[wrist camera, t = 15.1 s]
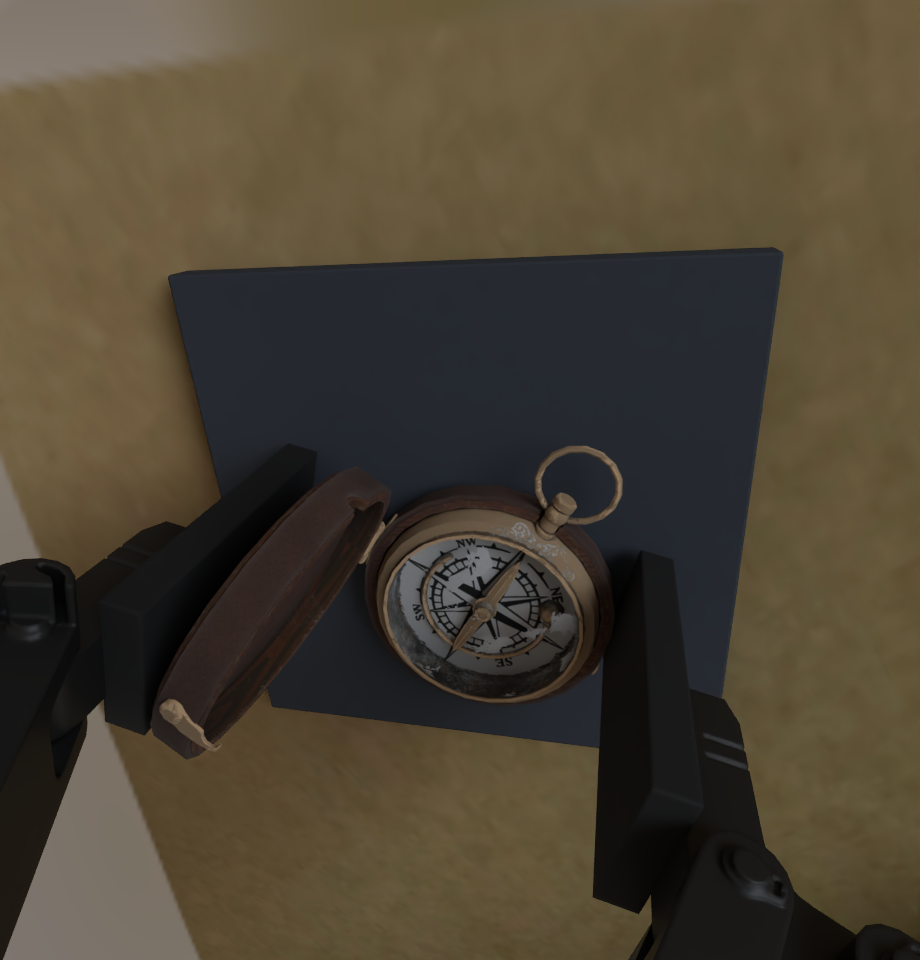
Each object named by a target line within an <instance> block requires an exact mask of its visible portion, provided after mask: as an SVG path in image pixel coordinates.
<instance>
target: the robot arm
mask: <svg viewBox="0 0 920 960" xmlns="http://www.w3.org/2000/svg"><path fill="white" fill-rule="evenodd" d="M316 460H317V452H316V451H313V450H310V449H306V448H303V447H300V446H296V445H293V444H290V443H288V444H287V445H286V446H285V447H283V448H282V449H281V450H280V451H279V452H277V453H276V454H275V455H274V456H272V457H271V458H270V459H269V460H268V461H266V462H265V463H264V464H263V465H262V466H260V467H259V468H258V469H257V470H255V471H254V472H253V473H252V474H251V475H249V476H248V477H247V478H246V479H245V480H243V481H242V482H241V483H240V484H238V485H237V486H236V487H235V488H234V489H232V490H231V491H230V492H229V493H227V494H226V495H225V496H224V497H223V498H221V499H220V500H219V501H218V502H217V503H215V504H214V505H213V506H212V507H210V508H209V509H208V510H207V511H206V512H204V513H203V514H202V515H201V516H200V517H198V518H197V519H196V520H195V521H193V522H192V523H191V524H190V525H189V526H187V527H186V528H185V527H182V526H179V525H176V524H173V523H170V522H167V521H166V522H164V523H161V524H158V525H155V526H153V527H150V528H147V529H145V530H142V531H140V532H139V533H138V534H136V535H135V536H134V537H132V538H131V539H130V540H128V541H127V542H126V543H124V544H123V547H122V548H120V547H119V548H118V549H116V550H115V551H114V552H112V553H111V554H110V555H108V558H107V559H103V560H102V561H101V562H99V563H98V564H97V565H95V566H94V567H93V568H91V569H90V570H89V571H87V572H86V573H85V574H83V575H82V576H81V577H79V578H78V579H77V580H75V575H74V574H73V572H72V571H71V569H70V567H68V566H66V565H64V564H62V563H60V562H58V561H54V560H48V559H43V558H38V559H22V560H18V561H14V562H10V563H5V564H3V565H1V566H0V960H3V957H4V955H5V952H6V950H7V947H8V944H9V941H10V939H11V936H12V933H13V931H14V928H15V925H16V923H17V920H18V917H19V915H20V912H21V909H22V906H23V904H24V901H25V898H26V896H27V893H28V890H29V887H30V885H31V882H32V880H33V877H34V874H35V872H36V869H37V866H38V863H39V861H40V858H41V855H42V853H43V850H44V847H45V845H46V842H47V839H48V837H49V834H50V831H51V828H52V826H53V823H54V820H55V817H56V815H57V812H58V810H59V807H60V804H61V801H62V799H63V796H64V793H65V791H66V788H67V785H68V783H69V780H70V777H71V775H72V772H73V769H74V766H75V764H76V761H77V758H78V756H79V753H80V750H81V748H82V745H83V742H84V740H85V737H86V731H87V715H88V714H89V713H90V712H91V711H92V710H93V709H94V708H95V707H96V706H97V705H98V704H99V703H100V702H101V701H102V700H103V699H104V709H105V721H106V722H108V723H111V724H114V725H117V726H119V727H122V728H125V729H128V730H131V731H133V732H136V733H139V734H142V735H144V736H145V734H146V733H147V732H148V731H149V730H150V728H151V725H150V722H151V719H152V708H153V705H154V702H155V698H156V695H157V692H158V688H159V685H160V683H161V681H162V679H163V677H164V675H165V674H166V672H167V670H168V668H169V666H170V664H171V662H172V660H173V658H174V656H175V654H176V652H177V651H178V649H179V647H180V646H181V644H182V643H183V641H184V640H185V638H186V636H187V635H188V633H189V632H190V630H191V629H192V627H193V626H194V624H195V623H196V621H197V620H198V618H199V617H200V615H201V614H202V612H203V611H204V609H205V608H206V606H207V605H208V603H209V602H210V601H211V599H212V598H213V597H214V596H215V594H216V593H217V592H218V590H219V589H220V588H221V586H222V585H223V584H224V583H225V581H226V580H227V579H228V577H229V576H230V575H231V573H232V572H233V571H234V570H235V568H236V567H237V566H238V564H239V563H240V562H241V560H242V559H243V558H244V557H245V556H246V555H247V554H248V553H249V551H250V550H251V549H252V548H253V547H254V546H255V545H256V544H257V543H258V541H259V540H260V539H261V538H262V537H263V536H264V535H265V534H266V532H267V531H268V530H269V529H270V528H271V527H272V526H273V525H274V523H275V522H276V521H277V520H278V519H279V518H280V517H281V516H283V515H284V514H285V513H286V512H287V511H288V510H289V509H290V508H291V507H292V506H293V505H294V504H295V503H296V502H297V501H298V500H299V499H300V498H302V497H303V496H304V495H305V494H306V493H307V492H308V491H310V490H311V489H312V488H313V485H314V477H315V469H316ZM747 769H748V763H747V758H746V753H745V751H744V743H743V738H742V733H741V729H740V724H739V722H738V720H737V719H736V717H735V716H734V714H733V713H732V711H731V709H730V708H729V706H728V705H727V703H726V701H725V700H724V699H721V698H718V697H715V696H712V695H709V694H705V693H702V692H699V691H696V690H693V689H690V688H689V681H688V673H687V665H686V656H685V648H684V640H683V632H682V624H681V616H680V608H679V600H678V592H677V584H676V576H675V568H674V560H673V559H670V558H666V557H663V556H660V555H657V554H653V553H650V552H647V551H643V550H641V551H640V553H639V556H638V558H637V561H636V563H635V565H634V568H633V570H632V573H631V575H630V577H629V580H628V582H627V585H626V587H625V589H624V592H623V594H622V597H621V599H620V601H619V604H618V606H617V609H616V611H615V622H614V626H613V630H612V635H611V638H610V641H609V643H608V645H607V648H606V650H605V653H604V655H603V675H602V698H601V721H600V743H599V766H598V789H597V812H596V835H595V857H594V880H593V898H596V899H599V900H602V901H604V902H607V903H610V904H613V905H615V906H618V907H621V908H624V909H626V910H629V911H632V912H635V913H637V914H639V913H640V911H641V910H642V908H643V907H644V905H645V903H646V902H647V900H648V898H649V897H650V895H651V908H652V923H651V925H650V926H649V928H648V930H647V931H646V933H645V934H644V936H643V937H642V939H641V941H640V942H639V944H638V945H637V947H636V948H635V950H634V952H633V953H632V955H631V956H630V958H629V959H628V960H920V943H919V942H917V941H916V940H914V939H913V938H911V937H909V936H908V935H906V934H905V933H903V932H902V931H900V930H898V929H895V928H892V927H889V926H886V925H883V924H873V925H865V927H864V928H863V929H862V930H861V931H860V932H859V933H858V934H857V935H855V934H854V933H852V932H851V931H849V930H848V929H846V928H845V927H843V926H841V925H840V924H838V923H837V922H835V921H834V920H832V919H831V918H829V917H828V916H826V915H825V914H823V913H822V912H820V911H818V910H817V909H815V908H814V907H813V906H811V905H810V904H809V903H807V902H806V901H805V900H803V899H802V898H801V897H799V896H798V895H797V894H796V893H795V892H794V890H793V887H792V884H791V882H790V879H789V877H788V874H787V872H786V871H785V869H784V868H783V866H782V865H781V864H780V862H779V861H778V860H777V858H776V857H775V856H774V854H772V853H771V852H770V851H769V850H768V849H767V848H766V847H765V844H764V840H763V835H762V830H761V826H760V821H759V816H758V811H757V806H756V801H755V796H754V792H753V787H752V782H751V777H750V772H749V771H748V770H747Z"/></svg>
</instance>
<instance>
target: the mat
mask: <svg viewBox="0 0 920 960" xmlns="http://www.w3.org/2000/svg"><path fill="white" fill-rule="evenodd" d="M782 262H783V252H781V251H779V250H777V249H775V248H773V247H770V248H745V249H721V250H696V251H671V252H646V253H621V254H596V255H571V256H546V257H521V258H496V259H471V260H446V261H422V262H397V263H372V264H347V265H322V266H297V267H272V268H247V269H222V270H197V271H185V272H181V273H177V274H173V275H170V276H168V280H169V284H170V288H171V292H172V296H173V300H174V305H175V309H176V313H177V317H178V321H179V325H180V329H181V333H182V338H183V342H184V346H185V350H186V354H187V358H188V362H189V366H190V371H191V375H192V379H193V383H194V387H195V391H196V395H197V399H198V403H199V408H200V412H201V416H202V420H203V424H204V428H205V432H206V436H207V441H208V445H209V449H210V453H211V457H212V461H213V465H214V469H215V474H216V478H217V482H218V486H219V490H220V494H221V498H223V497H224V496H225V495H226V494H227V493H229V492H230V491H231V490H232V489H234V488H235V487H236V486H237V485H238V484H240V483H241V482H242V481H243V480H245V479H246V478H247V477H248V476H249V475H251V474H252V473H253V472H254V471H255V470H257V469H258V468H259V467H260V466H262V465H263V464H264V463H265V462H266V461H268V460H269V459H270V458H271V457H272V456H274V455H275V454H276V453H277V452H279V451H280V450H281V449H282V448H283V447H285V446H286V445H287V444H288V443H290V444H293V445H296V446H300V447H303V448H306V449H310V450H313V451H316V452H317V460H316V469H315V477H314V485H313V488H314V487H315V486H316V485H318V484H319V483H321V482H322V481H323V480H325V479H326V478H327V477H329V476H330V475H333V474H336V473H339V472H341V471H344V470H347V469H350V468H352V467H355V466H357V467H359V468H360V469H362V470H363V471H365V472H366V473H368V474H369V475H370V476H372V477H373V478H375V479H376V480H378V481H379V482H381V483H382V484H383V485H385V486H386V487H388V488H389V489H391V490H392V492H391V497H390V503H389V505H388V508H387V510H386V513H385V515H384V517H383V519H382V522H384V524H385V526H386V525H387V523H388V522H389V521H390V520H391V519H392V518H393V516H394V515H395V514H398V513H399V512H400V511H401V510H402V509H403V508H405V507H406V506H408V505H410V504H411V503H413V502H415V501H417V500H418V499H420V498H422V497H423V496H425V495H427V494H428V493H430V492H435V491H439V490H443V489H447V488H452V487H456V486H460V485H488V486H503V487H506V488H510V489H513V490H516V491H519V492H523V493H526V494H529V495H533V496H536V494H535V479H534V477H535V475H536V473H537V470H538V468H539V466H540V463H541V462H542V461H543V460H544V459H546V458H547V457H548V456H549V455H550V454H551V453H552V452H554V451H557V450H559V449H562V448H565V447H567V446H588V447H590V448H593V449H595V450H598V451H601V452H603V453H604V454H605V455H606V456H608V457H609V458H610V459H611V460H612V461H613V462H614V463H615V464H616V465H617V468H618V470H619V472H620V474H621V477H622V479H623V484H622V496H621V498H620V500H619V502H618V504H617V506H616V508H615V510H613V511H612V512H611V513H610V514H608V515H607V516H606V517H605V518H604V519H602V520H599V521H596V522H593V523H590V524H587V525H584V524H578V525H579V526H580V527H581V528H582V529H583V531H584V532H585V533H586V534H587V535H588V536H589V537H590V538H591V539H592V540H593V541H594V542H595V543H596V545H597V547H598V549H599V551H600V553H601V555H602V557H603V559H604V561H605V563H606V565H607V567H608V569H609V571H610V573H611V577H612V585H613V592H614V600H615V611H616V609H617V606H618V604H619V601H620V599H621V597H622V594H623V592H624V589H625V587H626V585H627V582H628V580H629V577H630V575H631V573H632V570H633V568H634V565H635V563H636V561H637V558H638V556H639V553H640V551H641V550H643V551H647V552H650V553H653V554H657V555H660V556H663V557H666V558H670V559H673V560H674V568H675V576H676V584H677V592H678V600H679V608H680V616H681V624H682V632H683V640H684V648H685V656H686V665H687V673H688V681H689V688H690V689H693V690H696V691H699V692H702V693H705V694H709V695H712V696H715V697H718V698H721V699H722V693H723V686H724V678H725V671H726V664H727V657H728V650H729V642H730V635H731V628H732V621H733V614H734V607H735V599H736V592H737V585H738V578H739V571H740V564H741V556H742V549H743V542H744V535H745V528H746V521H747V513H748V506H749V499H750V492H751V485H752V478H753V470H754V463H755V456H756V449H757V442H758V435H759V427H760V420H761V413H762V406H763V399H764V392H765V384H766V377H767V370H768V363H769V356H770V348H771V341H772V334H773V327H774V320H775V313H776V305H777V298H778V291H779V284H780V277H781V270H782ZM615 485H616V481H615V479H614V476H613V474H612V472H611V470H610V468H609V467H608V466H607V465H606V464H605V463H604V462H602V461H601V460H600V459H599V458H597V457H594V456H591V455H589V454H586V453H568V454H566V455H563V456H560V457H558V458H556V459H555V460H554V461H552V462H551V463H550V464H549V465H548V466H547V467H546V469H545V471H544V473H543V476H542V478H541V486H542V493H543V495H544V497H545V499H546V501H547V503H549V504H550V503H551V502H553V501H552V500H553V499H554V497H555V496H556V495H557V494H558V493H565V494H567V495H569V496H570V497H572V498H573V499H574V500H575V502H576V505H577V508H576V509H575V511H574V512H573V513H572V514H571V515H570V517H573V518H587V517H590V516H593V515H596V514H599V513H600V512H601V511H603V510H604V509H605V508H606V507H607V506H609V505H610V503H611V501H612V499H613V497H614V495H615ZM536 497H537V496H536ZM369 553H370V552H369ZM369 553H368V554H369ZM368 556H369V555H368ZM367 558H368V557H367ZM367 558H366V560H365V562H363V563H362V564H360V563H358V564H357V566H356V568H355V569H354V571H353V572H352V574H351V576H350V577H349V579H348V580H347V582H346V583H345V585H344V586H343V587H342V589H341V590H340V592H339V593H338V595H337V596H336V598H335V599H334V601H333V602H332V604H331V605H330V607H329V608H328V609H327V611H326V612H325V614H324V615H323V616H322V618H321V619H320V620H319V622H318V623H317V625H316V626H315V627H314V629H313V630H312V632H311V633H310V634H309V636H308V637H307V638H306V639H305V641H304V642H303V643H302V645H301V646H300V647H299V649H298V650H297V651H296V652H295V654H294V655H293V656H292V658H291V659H290V660H289V662H288V663H287V664H286V665H285V666H284V668H283V669H282V670H281V671H280V673H279V674H278V675H277V676H276V677H275V679H274V680H273V681H272V682H271V683H270V685H269V686H268V687H267V688H268V692H269V696H270V700H271V704H272V706H273V707H278V708H286V709H294V710H302V711H310V712H318V713H326V714H334V715H342V716H350V717H358V718H366V719H374V720H382V721H389V722H397V723H405V724H413V725H421V726H429V727H437V728H445V729H453V730H461V731H469V732H477V733H485V734H493V735H501V736H509V737H516V738H524V739H532V740H540V741H548V742H556V743H564V744H572V745H580V746H588V747H596V748H599V743H600V721H601V698H602V675H603V657H602V659H601V660H600V665H599V668H598V670H597V671H596V673H594V674H593V675H592V674H590V675H589V676H588V677H586V678H585V679H584V680H582V681H581V682H580V683H579V684H577V685H576V686H575V687H573V688H572V689H571V690H569V691H568V692H565V693H563V694H560V695H558V696H555V697H552V698H550V699H547V700H544V701H542V702H539V703H531V704H522V705H513V706H501V705H492V704H483V703H475V702H471V701H468V700H465V699H462V698H459V697H456V696H453V695H450V694H448V693H445V692H442V691H440V690H438V689H437V688H435V687H433V686H432V685H430V684H428V683H427V682H425V681H423V680H422V679H420V678H418V677H417V676H415V675H413V674H412V673H411V672H410V671H409V670H408V669H407V668H406V667H405V666H404V665H403V664H402V663H401V662H400V661H399V660H397V659H396V658H395V657H394V656H393V655H392V654H391V653H390V651H389V650H388V648H387V647H386V645H385V644H384V642H383V641H382V639H381V638H380V636H379V634H378V633H377V631H376V630H375V628H374V627H373V623H372V620H371V617H370V614H369V610H368V607H367V604H366V601H365V569H366V566H367V565H366V561H367Z"/></svg>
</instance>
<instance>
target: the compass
mask: <svg viewBox="0 0 920 960" xmlns="http://www.w3.org/2000/svg"><path fill="white" fill-rule="evenodd" d="M568 453H586V454H589V455H591V456H594V457H597V458H599V459H600V460H601V461H602V462H604V463H605V464H606V465H607V466H608V467H609V468H610V470H611V472H612V474H613V476H614V479H615V481H616V485H615V495H614V497H613V499H612V501H611V503H610V505H609V506H607V507H606V508H605V509H604V510H603V511H601V512H600V513H599V514H596V515H593V516H590V517H587V518H573V517H570V515H571V514H572V513H573V512H574V511H575V509H576V508H577V505H576V502H575V500H574V499H573V498H572V497H570V496H569V495H567V494H565V493H558V494H557V495H556V496H555V497H554V499H553V500H552V501H553V502H551V503H550V504H549V503H547V501H546V499H545V497H544V495H543V493H542V486H541V478H542V476H543V473H544V471H545V469H546V467H547V466H548V465H549V464H550V463H551V462H552V461H554V460H555V459H556V458H558V457H560V456H563V455H566V454H568ZM534 479H535V494H536V496H537V497H536V496H533V495H529V494H526V493H523V492H519V491H516V490H513V489H510V488H506V487H503V486H488V485H460V486H456V487H452V488H447V489H443V490H439V491H435V492H430V493H428V494H427V495H425V496H423V497H422V498H420V499H418V500H417V501H415V502H413V503H411V504H410V505H408V506H406V507H405V508H403V509H402V510H401V511H400V512H399V513H398V514H395V515H394V516H393V518H392V519H391V520H390V521H389V522H388V523H387V525H386V526H385V524H384V522H382V519H383V517H384V515H385V513H386V510H387V508H388V505H389V503H390V497H391V492H392V490H391V489H389V488H388V487H386V486H385V485H383V484H382V483H381V482H379V481H378V480H376V479H375V478H373V477H372V476H370V475H369V474H368V473H366V472H365V471H363V470H362V469H360V468H359V467H357V466H355V467H352V468H350V469H347V470H344V471H341V472H339V473H336V474H333V475H330V476H329V477H327V478H326V479H325V480H323V481H322V482H321V483H319V484H318V485H316V486H315V487H314V488H312V489H311V490H310V491H308V492H307V493H306V494H305V495H304V496H303V497H302V498H300V499H299V500H298V501H297V502H296V503H295V504H294V505H293V506H292V507H291V508H290V509H289V510H288V511H287V512H286V513H285V514H284V515H283V516H281V517H280V518H279V519H278V520H277V521H276V522H275V523H274V525H273V526H272V527H271V528H270V529H269V530H268V531H267V532H266V534H265V535H264V536H263V537H262V538H261V539H260V540H259V541H258V543H257V544H256V545H255V546H254V547H253V548H252V549H251V550H250V551H249V553H248V554H247V555H246V556H245V557H244V558H243V559H242V560H241V562H240V563H239V564H238V566H237V567H236V568H235V570H234V571H233V572H232V573H231V575H230V576H229V577H228V579H227V580H226V581H225V583H224V584H223V585H222V586H221V588H220V589H219V590H218V592H217V593H216V594H215V596H214V597H213V598H212V599H211V601H210V602H209V603H208V605H207V606H206V608H205V609H204V611H203V612H202V614H201V615H200V617H199V618H198V620H197V621H196V623H195V624H194V626H193V627H192V629H191V630H190V632H189V633H188V635H187V636H186V638H185V640H184V641H183V643H182V644H181V646H180V647H179V649H178V651H177V652H176V654H175V656H174V658H173V660H172V662H171V664H170V666H169V668H168V670H167V672H166V674H165V675H164V677H163V679H162V681H161V683H160V685H159V688H158V692H157V695H156V698H155V702H154V705H153V708H152V719H151V722H150V725H151V728H152V731H153V734H154V736H156V737H157V738H158V739H160V740H161V741H162V742H164V743H165V744H166V745H168V746H169V747H170V748H172V749H173V750H174V751H176V752H177V753H179V754H180V755H181V756H183V757H184V758H185V759H190V758H193V757H196V756H198V755H200V754H201V753H202V752H203V751H205V750H206V749H207V750H210V751H217V750H218V749H219V748H220V747H221V746H222V745H223V744H222V743H221V744H220V745H218V746H217V745H212V744H214V743H215V742H216V741H217V740H218V739H219V738H221V737H222V736H223V735H224V734H225V733H226V732H227V731H228V730H229V729H230V728H231V727H232V726H233V725H234V724H235V723H236V722H237V721H238V720H239V719H240V718H241V717H242V715H243V714H244V713H245V712H246V711H247V710H248V709H249V708H250V707H251V705H252V704H253V703H254V702H255V701H256V700H257V699H258V698H259V696H260V695H261V694H262V693H263V692H264V691H265V690H266V688H267V687H268V686H269V685H270V683H271V682H272V681H273V680H274V679H275V677H276V676H277V675H278V674H279V673H280V671H281V670H282V669H283V668H284V666H285V665H286V664H287V663H288V662H289V660H290V659H291V658H292V656H293V655H294V654H295V652H296V651H297V650H298V649H299V647H300V646H301V645H302V643H303V642H304V641H305V639H306V638H307V637H308V636H309V634H310V633H311V632H312V630H313V629H314V627H315V626H316V625H317V623H318V622H319V620H320V619H321V618H322V616H323V615H324V614H325V612H326V611H327V609H328V608H329V607H330V605H331V604H332V602H333V601H334V599H335V598H336V596H337V595H338V593H339V592H340V590H341V589H342V587H343V586H344V585H345V583H346V582H347V580H348V579H349V577H350V576H351V574H352V572H353V571H354V569H355V568H356V566H357V564H358V563H360V564H362V563H363V562H365V560H366V558H367V557H368V558H367V561H366V565H367V566H366V569H365V601H366V604H367V607H368V610H369V614H370V617H371V620H372V623H373V627H374V628H375V630H376V631H377V633H378V634H379V636H380V638H381V639H382V641H383V642H384V644H385V645H386V647H387V648H388V650H389V651H390V653H391V654H392V655H393V656H394V657H395V658H396V659H397V660H399V661H400V662H401V663H402V664H403V665H404V666H405V667H406V668H407V669H408V670H409V671H410V672H411V673H412V674H413V675H415V676H417V677H418V678H420V679H422V680H423V681H425V682H427V683H428V684H430V685H432V686H433V687H435V688H437V689H438V690H440V691H442V692H445V693H448V694H450V695H453V696H456V697H459V698H462V699H465V700H468V701H471V702H475V703H483V704H492V705H501V706H513V705H522V704H531V703H539V702H542V701H544V700H547V699H550V698H552V697H555V696H558V695H560V694H563V693H565V692H568V691H569V690H571V689H572V688H573V687H575V686H576V685H577V684H579V683H580V682H581V681H582V680H584V679H585V678H586V677H588V676H589V675H590V674H592V675H593V674H594V673H596V671H597V670H598V668H599V665H600V660H601V659H602V657H603V655H604V653H605V650H606V648H607V645H608V643H609V641H610V638H611V635H612V630H613V626H614V622H615V600H614V592H613V585H612V577H611V573H610V571H609V569H608V567H607V565H606V563H605V561H604V559H603V557H602V555H601V553H600V551H599V549H598V547H597V545H596V543H595V542H594V541H593V540H592V539H591V538H590V537H589V536H588V535H587V534H586V533H585V532H584V531H583V529H582V528H581V527H580V526H579V525H578V524H584V525H587V524H590V523H593V522H596V521H599V520H602V519H604V518H605V517H606V516H607V515H608V514H610V513H611V512H612V511H613V510H615V508H616V506H617V504H618V502H619V500H620V498H621V496H622V484H623V479H622V477H621V474H620V472H619V470H618V468H617V465H616V464H615V463H614V462H613V461H612V460H611V459H610V458H609V457H608V456H606V455H605V454H604V453H603V452H601V451H598V450H595V449H593V448H590V447H588V446H567V447H565V448H562V449H559V450H557V451H554V452H552V453H551V454H550V455H549V456H548V457H547V458H546V459H544V460H543V461H542V462H541V463H540V466H539V468H538V470H537V473H536V475H535V477H534ZM369 552H370V553H369ZM368 553H369V554H368ZM368 555H369V556H368Z"/></svg>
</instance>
